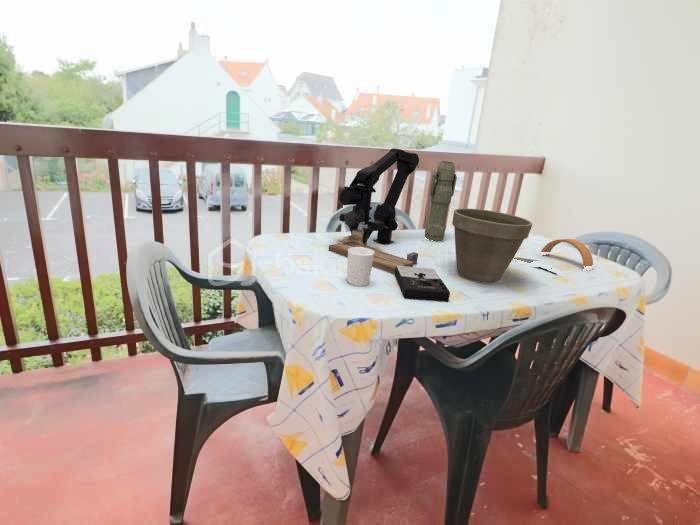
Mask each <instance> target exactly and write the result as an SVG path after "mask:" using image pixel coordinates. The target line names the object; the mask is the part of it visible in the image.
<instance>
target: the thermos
mask: <svg viewBox="0 0 700 525" xmlns="http://www.w3.org/2000/svg"><path fill="white" fill-rule="evenodd" d="M457 179H458V177H457V174H456V166H455V163H454V162H452V161H447V160H442V161H439V163H438V165H437V168H436V171H435V172H433V174H432V177H431V182H430V187H429V188H430V189H429V196H430V206H429V212H428V218H427V221H426V223H425V227H424V228H425V230H424V236H425V237H426V238H427V239H429V240H433V241H442V240H443V241H444V236H445V234H446V229H447V226H446V222H447V216H448V211H449V206H450V204H451V201H452V197H453V196H454V194H455V190H456V183H457ZM433 241H432V242H433ZM443 241H442V242H443Z"/></svg>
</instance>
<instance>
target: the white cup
mask: <svg viewBox="0 0 700 525" xmlns="http://www.w3.org/2000/svg"><path fill="white" fill-rule="evenodd" d="M373 258H374V251H373V250H371V249H368V248H363V247H352V248H349V249H348V257H347V263H346V264H347V265H346V266H347V268H346V271H347V273H346V274H347V276H346V281H347V283H349V284H350V285H353V286H355V287H356V286H357V287H359V286H360V287H364V286H367V285H369V284H370V283H369V282H370V277H371V275H372V274H371V273H372V268H373V267H372V263H373Z"/></svg>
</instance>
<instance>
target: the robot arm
mask: <svg viewBox="0 0 700 525" xmlns="http://www.w3.org/2000/svg"><path fill="white" fill-rule="evenodd" d="M419 162H420V158H419V155H418V153H415V152H409V151H406V150H403V149H401V148H395V147H394V148H391V149H389V152H387V153H386V154H385V155H384V156H383V155H382V157H381V158H380V159H378V160H376V162H374V163H373V164H372V165H370V166H366V167H364V168H361V169H360V170H358V171H357V172H356V174H355V176H354V178H353V180H352V181H351V183H350V184H349V186H348V185H347V186H344V187H343V190H341V192H340V193H339V195H338V196H339V202H340V203H341V205H342V206H353V207H352V210H351V211H348V212H344V213H343V212H342V213H340V215H339V219H338V221H339V222H343V223H344V224H345V225H346V226H348V228H349V231H350V236H351V235H352V230H356V229H359V226H360V224H361V225H364V226H365V227H363V228H362V230H363V231H364V237H363V244H366V242H367V243H368V241H369V238H370V237H371V235H372V234H373V233H374V231H375V232H377V234H376V238H375V239H376V240H375V239H374V240H375V241H374V242H376V241H378V242H377V243H379V242H380V243H379V244H382V243H383V244H384V245H388V244H389V245H390V244H393V243H395V241H394V240H392V237H393V236H392V235H393V231H394V232H395V231H397V229H398V226H399V224H398V222H397V220H395V218H396V215H397V214H396V212H397V211H396V206H397V203H398V201H399V199H400V196H401V194H402V191H403V189H404V187H405V184H406V182H407V180H408V177H409V175H411V174H412V173H414V171H415V170H416V168H417V167H418V165H419ZM395 163H396V170H397V171H396V173H395V176H394V178H393V180H392V183H391V185H390V187H389V189H388V192H387V194H386V197H385V200H384V201H383V203H381V204H377V206H376V207H375V210H374V212H373V220H372V217H371V216H370V212H371V210H373V206H371V204H372V203H371V202H372V194H373V193H376V192H377V190H376V189H375V187H374V186H375V185H376V184H377V183H378V181H380V177H381V176H382V175H383V173H385V172H386V171H387V170H389V169H390V168H391V166H394V164H395ZM383 244H382V245H383Z"/></svg>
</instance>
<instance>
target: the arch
mask: <svg viewBox="0 0 700 525" xmlns="http://www.w3.org/2000/svg"><path fill="white" fill-rule="evenodd" d="M561 243H566V244H569V245H570V246H573V247H574V248H575V249H576V250H577V251H578V253H579V254H580V257H581V259H582V267H583V266H585V267H586V266H592V265H593V266H594V258H593V255H592V252H591V251H590V249H589V248H588V247H587V246H586V245H585V244H584V243H583V242H581V241H579V240H577V239H573V238H564V239H563V238H562V239H561V238H560V239H555V240H551V241H550V242H548V243H547V244H546V245H544V247H542V249H541V251H540V252H550V253H551V252H552V250H553V249H554V247H555V246H557V245H559V244H561Z"/></svg>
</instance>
